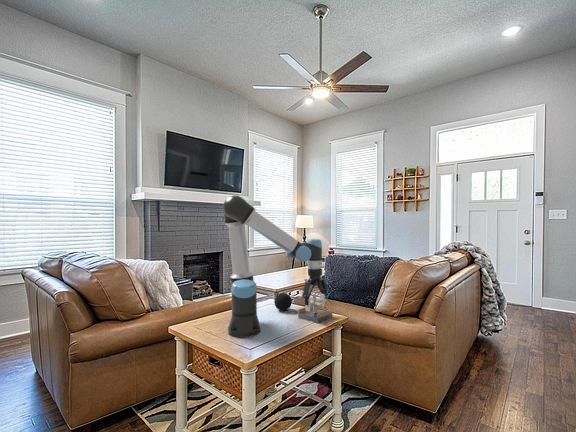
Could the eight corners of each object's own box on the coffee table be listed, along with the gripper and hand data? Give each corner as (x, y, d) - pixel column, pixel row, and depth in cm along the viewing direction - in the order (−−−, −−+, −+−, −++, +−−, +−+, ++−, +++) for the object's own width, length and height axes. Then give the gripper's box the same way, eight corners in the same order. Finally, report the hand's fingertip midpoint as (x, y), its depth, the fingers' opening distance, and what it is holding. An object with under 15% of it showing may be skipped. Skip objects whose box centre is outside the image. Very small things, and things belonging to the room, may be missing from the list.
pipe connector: (328, 312, 168) (327, 293, 168) (314, 317, 162) (313, 297, 162) (315, 307, 176) (314, 290, 176) (302, 312, 170) (301, 294, 170)
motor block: (318, 323, 160) (317, 314, 160) (298, 318, 169) (298, 309, 169) (332, 317, 170) (332, 308, 170) (312, 312, 178) (312, 304, 178)
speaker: (282, 314, 175) (281, 296, 175) (271, 310, 183) (270, 293, 183) (295, 310, 182) (295, 293, 182) (284, 307, 189) (284, 290, 190)
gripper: (306, 271, 158) (306, 315, 158) (333, 265, 176) (333, 304, 176) (294, 270, 163) (295, 312, 162) (322, 264, 181) (322, 302, 181)
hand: (315, 308), depth 169 cm, fingers open, 12 cm apart
